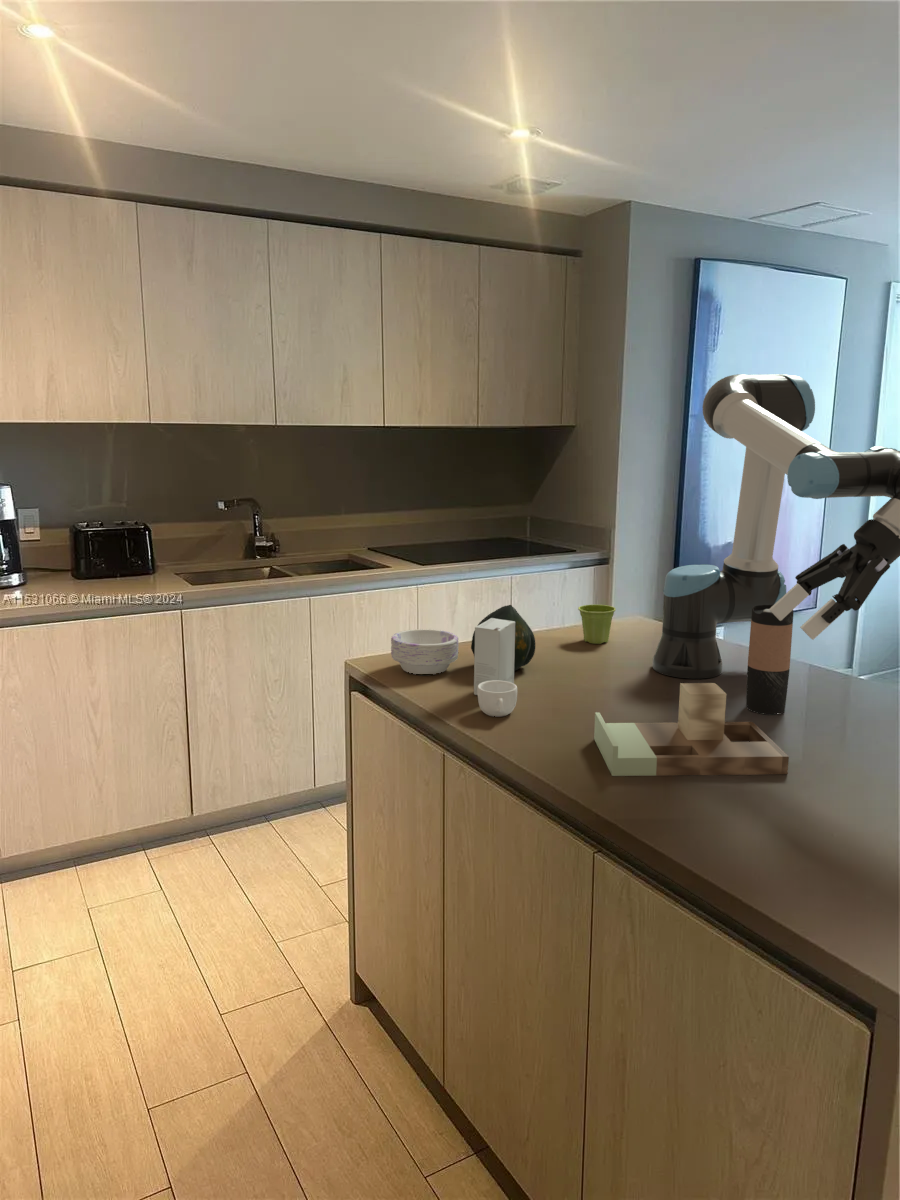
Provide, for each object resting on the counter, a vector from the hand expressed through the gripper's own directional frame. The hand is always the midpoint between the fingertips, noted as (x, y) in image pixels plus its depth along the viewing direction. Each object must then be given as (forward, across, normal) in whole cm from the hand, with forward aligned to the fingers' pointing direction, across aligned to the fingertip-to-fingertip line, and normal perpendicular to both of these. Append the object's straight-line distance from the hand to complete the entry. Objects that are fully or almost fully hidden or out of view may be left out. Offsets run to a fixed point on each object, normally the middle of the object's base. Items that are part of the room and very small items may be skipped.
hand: (789, 624), depth 143 cm
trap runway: (+25, -3, -6) cm, 26 cm away
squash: (+47, +50, +16) cm, 71 cm away
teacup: (+49, +18, +18) cm, 55 cm away
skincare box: (+49, +32, +18) cm, 61 cm away
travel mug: (+12, +21, -19) cm, 31 cm away
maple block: (+23, 0, -4) cm, 24 cm away
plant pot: (+29, +74, -2) cm, 79 cm away
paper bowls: (+59, +49, +29) cm, 82 cm away
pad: (+35, -3, +4) cm, 35 cm away
